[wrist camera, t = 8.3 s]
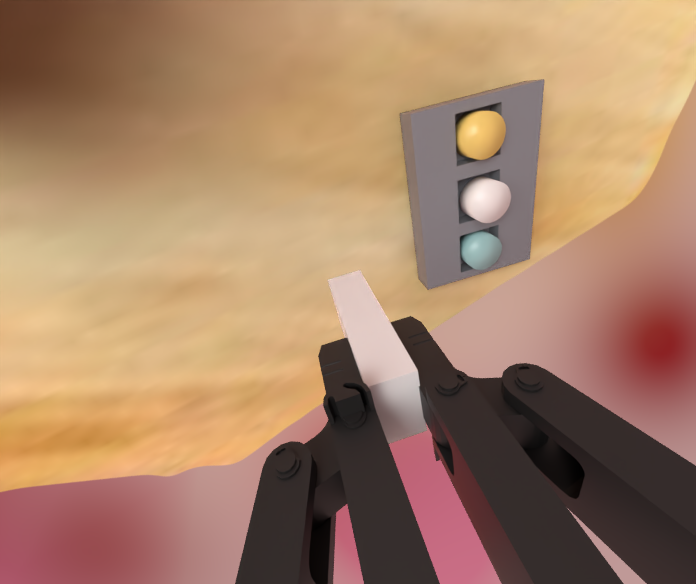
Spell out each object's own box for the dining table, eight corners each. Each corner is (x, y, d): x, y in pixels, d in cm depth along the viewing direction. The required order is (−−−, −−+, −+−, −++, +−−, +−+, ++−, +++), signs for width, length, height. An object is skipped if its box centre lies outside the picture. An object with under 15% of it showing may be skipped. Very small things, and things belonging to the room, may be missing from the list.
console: (399, 113, 34) (410, 114, 32) (524, 81, 35) (544, 79, 33) (418, 279, 45) (428, 289, 42) (514, 250, 46) (529, 258, 43)
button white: (458, 182, 36) (472, 187, 34) (495, 172, 37) (511, 176, 34) (460, 220, 39) (472, 227, 36) (495, 210, 39) (510, 217, 37)
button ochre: (450, 116, 34) (464, 117, 32) (490, 106, 34) (506, 106, 32) (452, 160, 36) (465, 164, 34) (489, 150, 37) (505, 153, 34)
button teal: (455, 233, 41) (467, 241, 38) (488, 223, 41) (502, 231, 39) (456, 264, 43) (468, 274, 41) (488, 255, 43) (501, 264, 41)
